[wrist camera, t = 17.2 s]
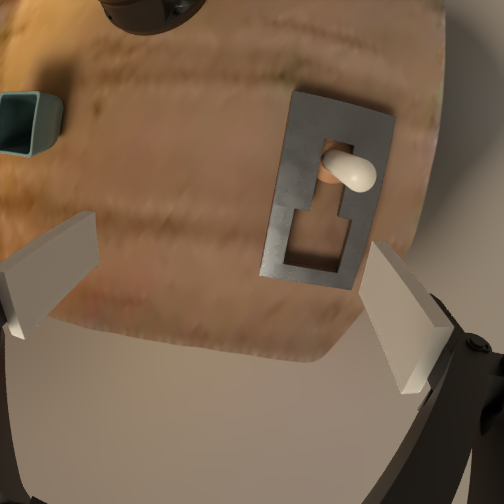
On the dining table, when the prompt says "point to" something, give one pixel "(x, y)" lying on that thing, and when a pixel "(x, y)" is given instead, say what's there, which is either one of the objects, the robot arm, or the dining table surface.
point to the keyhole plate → (304, 179)
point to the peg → (345, 167)
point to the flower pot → (29, 122)
